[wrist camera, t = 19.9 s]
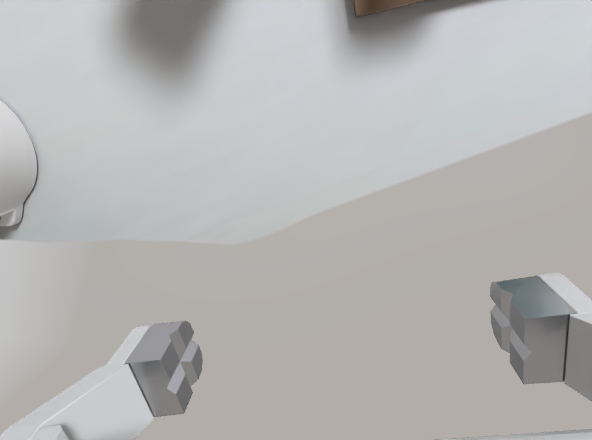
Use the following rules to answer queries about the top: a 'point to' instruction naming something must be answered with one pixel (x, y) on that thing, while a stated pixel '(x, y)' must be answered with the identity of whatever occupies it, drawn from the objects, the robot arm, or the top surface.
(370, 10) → the base
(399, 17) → the top surface
